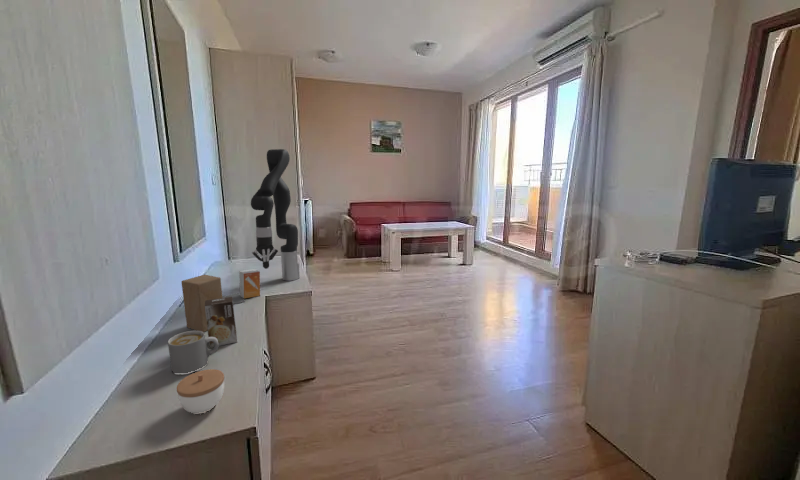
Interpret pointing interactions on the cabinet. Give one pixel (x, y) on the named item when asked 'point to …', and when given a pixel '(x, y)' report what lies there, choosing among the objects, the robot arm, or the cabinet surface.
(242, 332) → the cabinet surface
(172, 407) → the cabinet surface
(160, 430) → the cabinet surface
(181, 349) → the coffee mug
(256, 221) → the robot arm
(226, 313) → the coffee box
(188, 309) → the wooden block
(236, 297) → the mat
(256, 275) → the small box
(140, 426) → the cabinet surface
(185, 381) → the lidded jar
